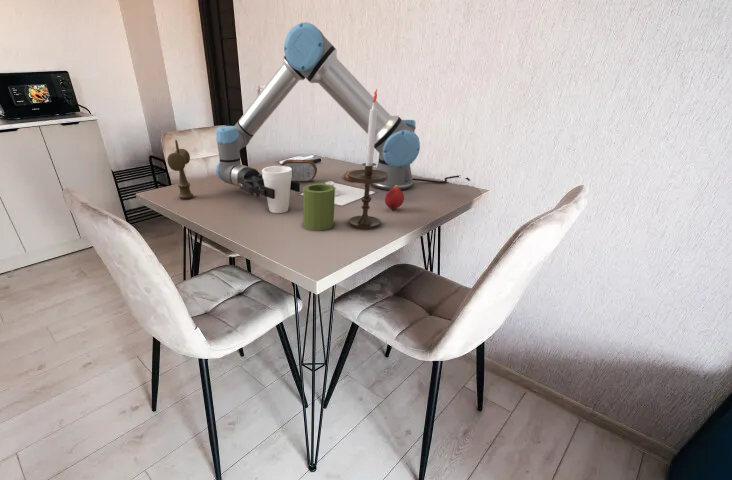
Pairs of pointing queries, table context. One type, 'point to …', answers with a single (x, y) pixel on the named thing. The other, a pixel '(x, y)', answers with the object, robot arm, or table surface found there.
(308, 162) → the tin
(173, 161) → the kendama
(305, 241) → the table surface
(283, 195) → the foam cup
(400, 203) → the onion
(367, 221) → the candlestick
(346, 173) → the cookie
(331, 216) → the thick-walled green cup
